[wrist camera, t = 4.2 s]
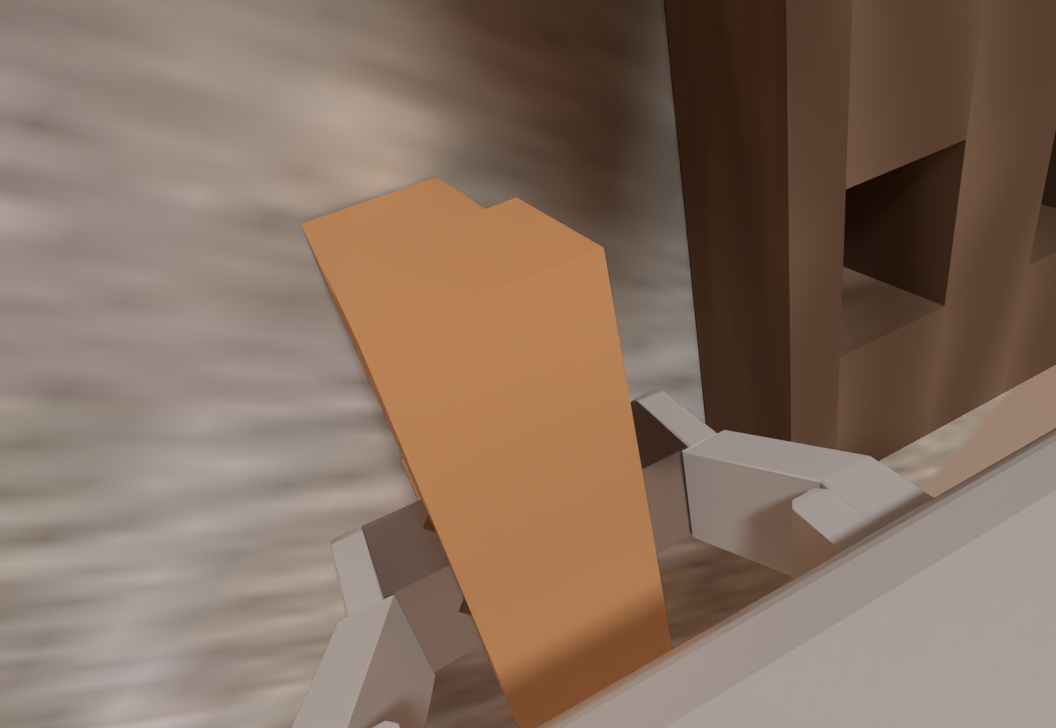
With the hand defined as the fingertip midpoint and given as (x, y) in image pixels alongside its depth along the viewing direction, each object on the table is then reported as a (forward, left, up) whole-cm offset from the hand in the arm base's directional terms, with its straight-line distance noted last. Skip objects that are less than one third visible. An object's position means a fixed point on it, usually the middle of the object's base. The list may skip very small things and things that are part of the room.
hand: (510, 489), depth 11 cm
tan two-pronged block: (0, 0, -5) cm, 5 cm away
